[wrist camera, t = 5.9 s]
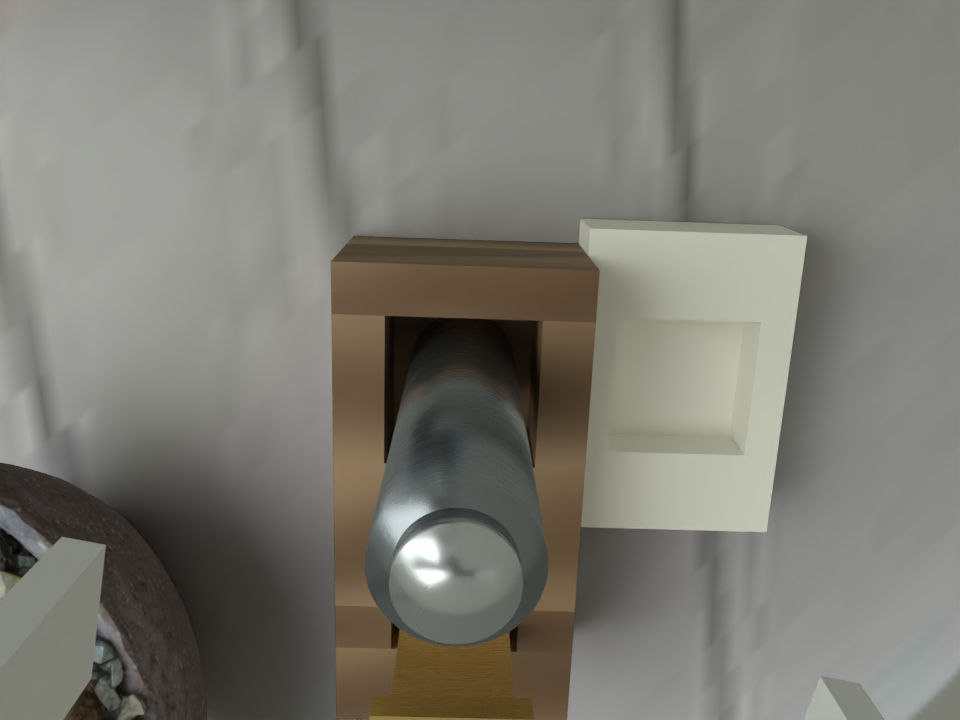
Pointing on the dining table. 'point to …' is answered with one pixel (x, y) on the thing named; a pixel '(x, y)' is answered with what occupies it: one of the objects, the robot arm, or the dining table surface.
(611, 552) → the dining table surface
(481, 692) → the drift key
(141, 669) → the planter
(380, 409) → the socket block
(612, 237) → the block
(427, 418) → the grey metal cylinder
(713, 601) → the dining table surface
